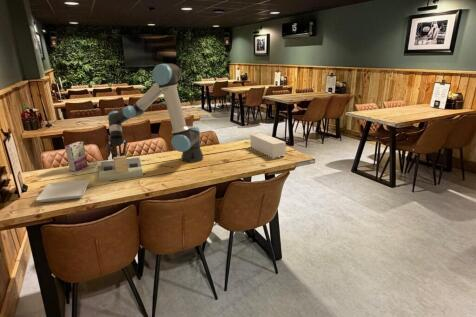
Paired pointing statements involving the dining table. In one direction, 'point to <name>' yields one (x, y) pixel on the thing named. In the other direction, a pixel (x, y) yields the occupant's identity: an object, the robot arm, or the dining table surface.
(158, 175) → the dining table surface
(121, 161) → the maple block
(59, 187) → the salad plate
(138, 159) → the block
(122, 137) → the robot arm
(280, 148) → the white rectangular block
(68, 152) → the candy bar box
